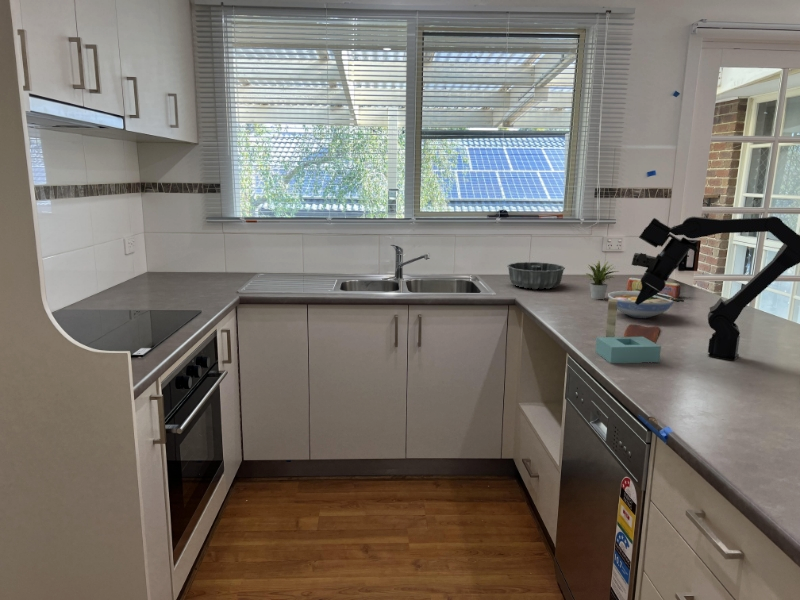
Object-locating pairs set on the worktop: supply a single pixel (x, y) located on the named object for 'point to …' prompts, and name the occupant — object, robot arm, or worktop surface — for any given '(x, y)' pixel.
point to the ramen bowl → (646, 308)
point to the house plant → (599, 281)
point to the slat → (611, 318)
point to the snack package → (669, 289)
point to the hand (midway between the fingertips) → (637, 301)
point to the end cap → (628, 349)
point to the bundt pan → (535, 274)
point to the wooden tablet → (642, 332)
